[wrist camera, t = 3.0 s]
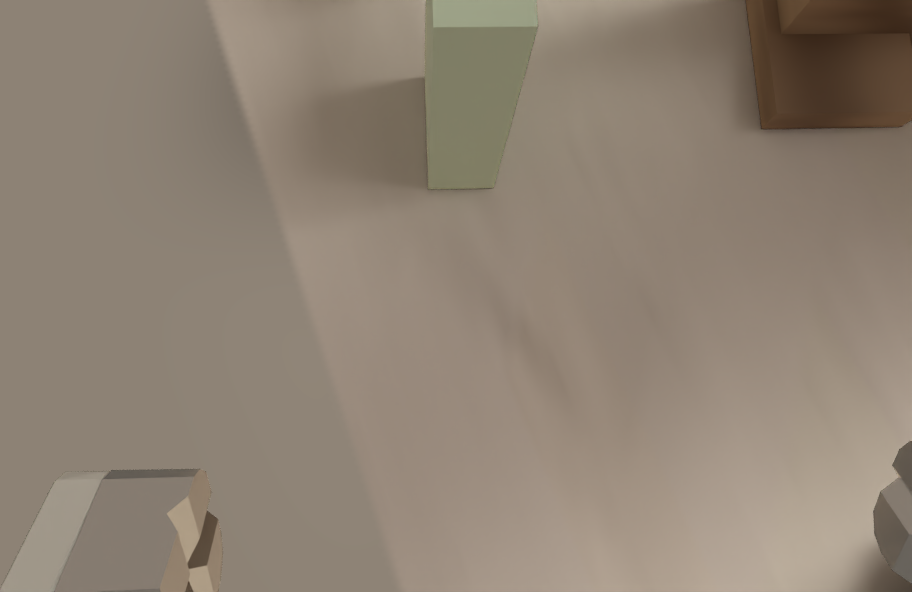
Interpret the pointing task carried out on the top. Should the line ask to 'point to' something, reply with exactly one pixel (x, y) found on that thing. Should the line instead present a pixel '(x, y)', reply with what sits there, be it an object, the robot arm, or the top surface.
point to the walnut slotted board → (832, 62)
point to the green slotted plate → (473, 85)
